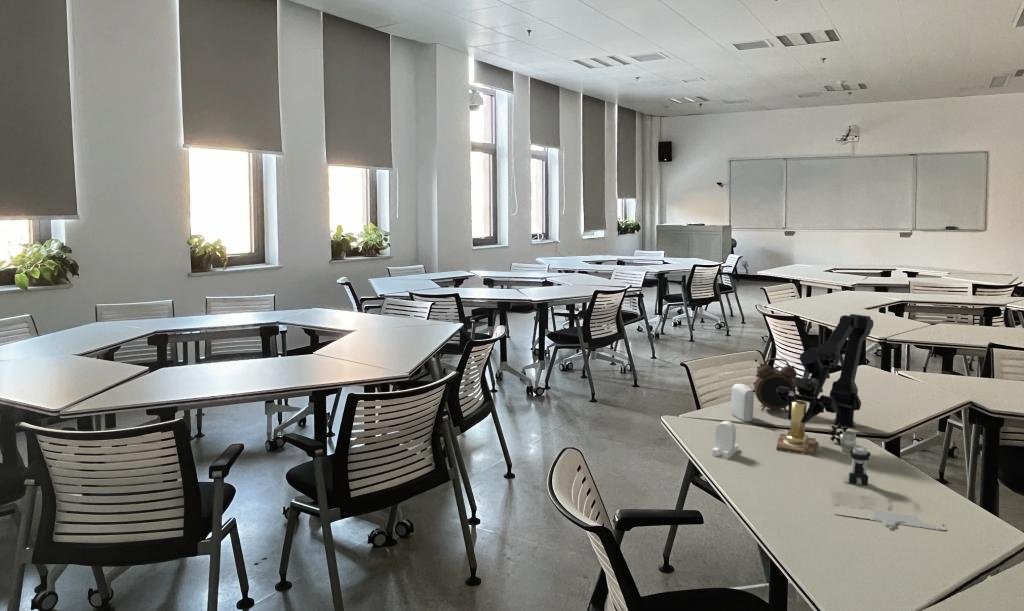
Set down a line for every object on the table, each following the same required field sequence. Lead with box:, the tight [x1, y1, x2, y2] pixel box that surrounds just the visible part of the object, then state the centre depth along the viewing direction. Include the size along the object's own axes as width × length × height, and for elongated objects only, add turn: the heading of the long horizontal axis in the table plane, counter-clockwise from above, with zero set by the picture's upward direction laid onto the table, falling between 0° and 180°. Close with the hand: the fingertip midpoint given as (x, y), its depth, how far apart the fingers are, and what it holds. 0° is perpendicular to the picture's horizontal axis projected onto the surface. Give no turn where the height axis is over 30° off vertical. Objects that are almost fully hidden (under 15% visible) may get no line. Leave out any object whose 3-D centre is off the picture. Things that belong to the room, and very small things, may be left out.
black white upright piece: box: [842, 446, 872, 486], centre depth 199 cm, size 7×5×10 cm
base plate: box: [775, 433, 816, 456], centre depth 229 cm, size 14×11×5 cm
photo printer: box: [730, 383, 755, 422], centre depth 258 cm, size 10×4×12 cm, turn 12°
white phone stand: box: [711, 420, 739, 460], centre depth 223 cm, size 5×10×10 cm, turn 145°
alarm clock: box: [753, 357, 798, 413], centre depth 265 cm, size 15×7×20 cm, turn 80°
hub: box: [785, 400, 809, 444], centre depth 230 cm, size 9×7×12 cm
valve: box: [828, 423, 857, 456], centre depth 227 cm, size 7×7×12 cm
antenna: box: [849, 506, 944, 531], centre depth 183 cm, size 25×24×1 cm
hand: (796, 420), depth 228 cm, fingers closed on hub, 4 cm apart
